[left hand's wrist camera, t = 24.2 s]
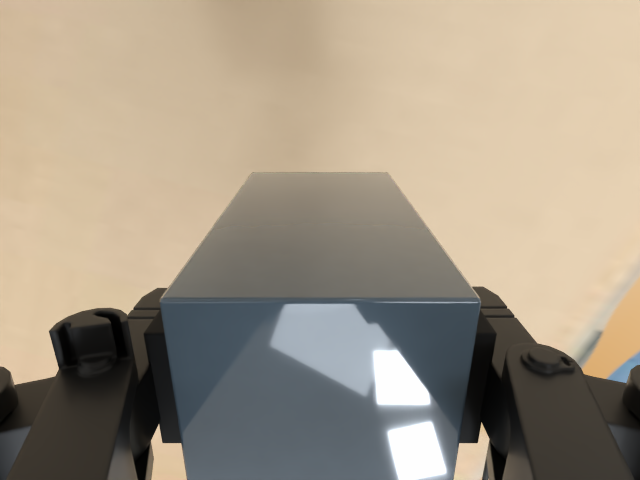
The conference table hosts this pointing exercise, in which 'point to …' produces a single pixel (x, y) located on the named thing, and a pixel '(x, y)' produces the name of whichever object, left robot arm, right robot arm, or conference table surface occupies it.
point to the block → (320, 336)
